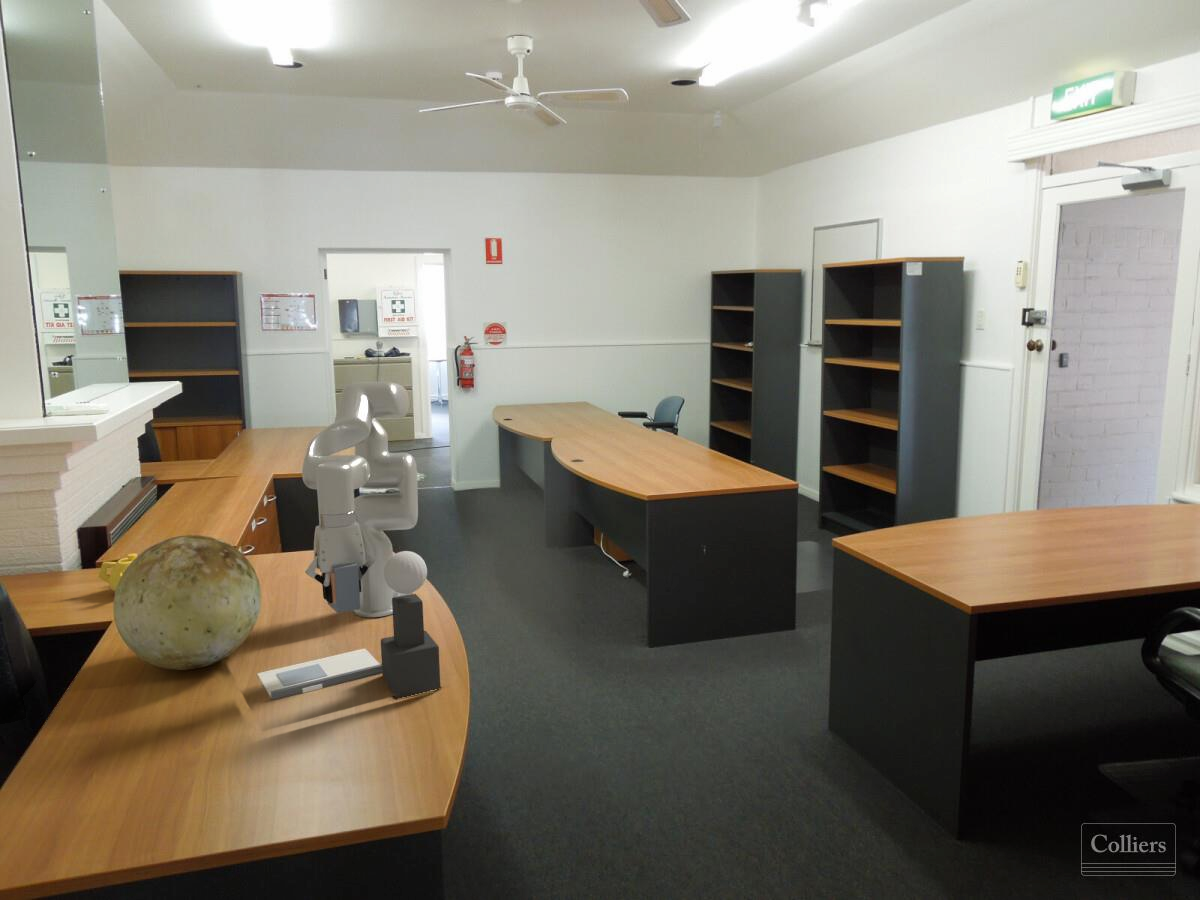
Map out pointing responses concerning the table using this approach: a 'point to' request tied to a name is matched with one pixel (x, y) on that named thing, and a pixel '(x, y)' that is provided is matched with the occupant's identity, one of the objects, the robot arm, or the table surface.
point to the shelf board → (319, 673)
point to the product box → (345, 588)
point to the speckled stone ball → (187, 602)
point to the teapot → (115, 570)
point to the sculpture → (408, 631)
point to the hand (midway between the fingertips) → (342, 597)
